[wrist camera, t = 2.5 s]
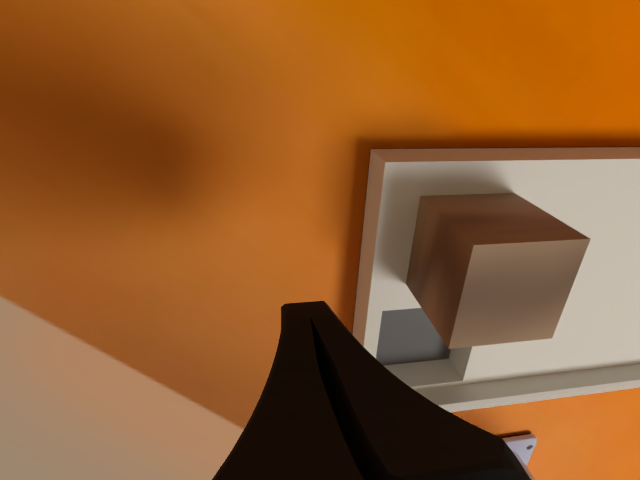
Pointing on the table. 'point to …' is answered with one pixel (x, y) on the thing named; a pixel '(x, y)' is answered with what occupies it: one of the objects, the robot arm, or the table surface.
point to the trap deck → (583, 301)
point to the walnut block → (492, 268)
